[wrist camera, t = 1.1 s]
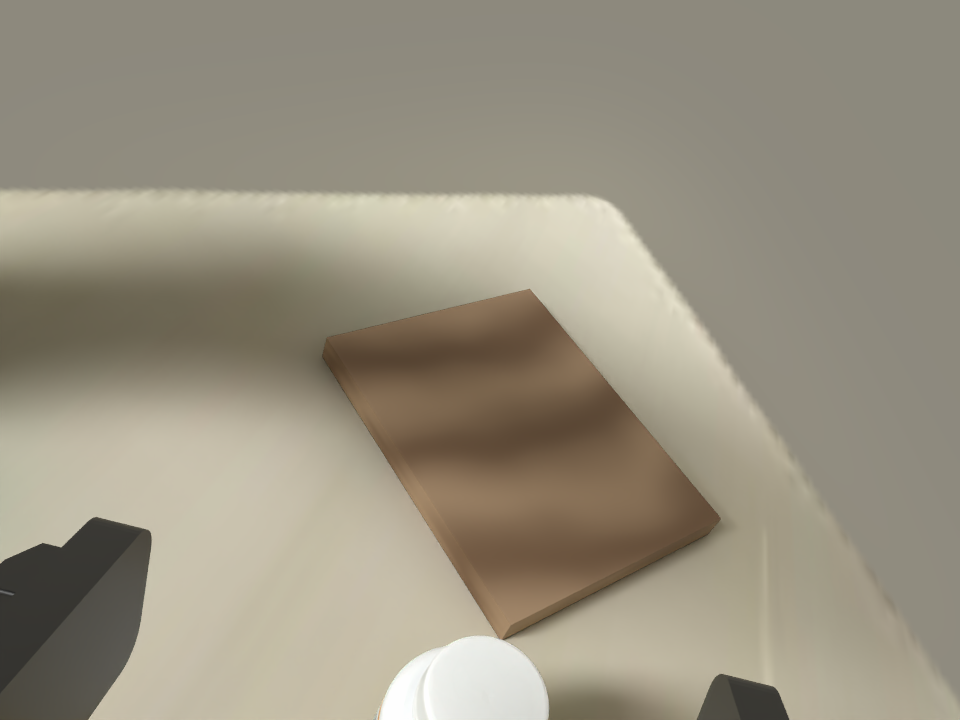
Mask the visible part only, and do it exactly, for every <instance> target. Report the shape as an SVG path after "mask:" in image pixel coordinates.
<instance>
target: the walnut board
mask: <svg viewBox="0 0 960 720" xmlns="http://www.w3.org/2000/svg"><path fill="white" fill-rule="evenodd" d="M322 357H323V358H324V360H325V362H326V363H327V365H328V366H329V368H330V370H331V371H332V373H333V374H334V376H335V378H336V379H337V381H338V382H339V384H340V386H341V387H342V389H343V390H344V392H345V393H346V395H347V397H348V398H349V400H350V401H351V403H352V405H353V406H354V408H355V409H356V411H357V413H358V414H359V416H360V417H361V419H362V421H363V422H364V424H365V425H366V427H367V429H368V430H369V432H370V433H371V435H372V436H373V438H374V440H375V441H376V443H377V444H378V446H379V448H380V449H381V451H382V452H383V454H384V456H385V457H386V459H387V460H388V462H389V464H390V465H391V467H392V468H393V470H394V472H395V473H396V475H397V476H398V478H399V479H400V481H401V483H402V484H403V486H404V487H405V489H406V491H407V492H408V494H409V495H410V497H411V499H412V500H413V502H414V503H415V505H416V507H417V508H418V510H419V511H420V513H421V514H422V516H423V518H424V519H425V521H426V522H427V524H428V526H429V527H430V529H431V530H432V532H433V534H434V535H435V537H436V538H437V540H438V542H439V543H440V545H441V546H442V548H443V550H444V551H445V553H446V554H447V556H448V557H449V559H450V561H451V562H452V564H453V565H454V567H455V569H456V570H457V572H458V573H459V575H460V577H461V578H462V580H463V581H464V583H465V585H466V586H467V588H468V589H469V591H470V593H471V594H472V596H473V597H474V599H475V600H476V602H477V604H478V605H479V607H480V608H481V610H482V612H483V613H484V615H485V616H486V618H487V620H488V621H489V623H490V624H491V626H492V628H493V629H494V631H495V632H496V634H497V636H498V637H499V639H501V640H503V639H505V638H507V637H509V636H511V635H513V634H515V633H517V632H519V631H521V630H523V629H524V628H526V627H528V626H530V625H532V624H534V623H536V622H538V621H540V620H542V619H544V618H546V617H548V616H550V615H552V614H554V613H556V612H558V611H559V610H561V609H563V608H565V607H567V606H569V605H571V604H573V603H575V602H577V601H579V600H581V599H583V598H585V597H587V596H589V595H591V594H593V593H594V592H596V591H598V590H600V589H602V588H604V587H606V586H608V585H610V584H612V583H614V582H616V581H618V580H620V579H622V578H624V577H626V576H627V575H629V574H631V573H633V572H635V571H637V570H639V569H641V568H643V567H645V566H647V565H649V564H651V563H653V562H655V561H657V560H659V559H661V558H662V557H664V556H666V555H668V554H670V553H672V552H674V551H676V550H678V549H680V548H682V547H684V546H686V545H688V544H690V543H692V542H694V541H696V540H697V539H699V538H701V537H703V536H705V535H707V534H708V533H709V532H710V531H711V530H712V529H713V528H714V526H715V525H716V524H717V523H718V522H719V521H720V519H721V518H720V517H719V516H718V514H717V513H716V512H715V511H714V510H713V508H712V507H711V506H710V505H709V504H708V502H707V501H706V500H705V499H704V498H703V496H702V495H701V494H700V493H699V492H698V490H697V489H696V488H695V487H694V486H693V484H692V483H691V482H690V481H689V480H688V478H687V477H686V476H685V475H684V474H683V472H682V471H681V470H680V469H679V468H678V466H677V465H676V464H675V463H674V461H673V460H672V459H671V458H670V457H669V455H668V454H667V453H666V452H665V451H664V449H663V448H662V447H661V446H660V445H659V443H658V442H657V441H656V440H655V439H654V437H653V436H652V435H651V434H650V433H649V431H648V430H647V429H646V428H645V427H644V425H643V424H642V423H641V422H640V421H639V419H638V418H637V417H636V416H635V415H634V413H633V412H632V411H631V410H630V409H629V407H628V406H627V405H626V404H625V403H624V401H623V400H622V399H621V398H620V397H619V395H618V394H617V393H616V392H615V391H614V389H613V388H612V387H611V386H610V385H609V383H608V382H607V381H606V380H605V379H604V377H603V376H602V375H601V374H600V373H599V371H598V370H597V369H596V368H595V367H594V365H593V364H592V363H591V362H590V361H589V359H588V358H587V357H586V356H585V355H584V353H583V352H582V351H581V350H580V349H579V347H578V346H577V345H576V344H575V343H574V341H573V340H572V339H571V338H570V337H569V335H568V334H567V333H566V332H565V331H564V329H563V328H562V327H561V326H560V325H559V323H558V322H557V321H556V320H555V319H554V317H553V316H552V315H551V314H550V312H549V311H548V310H547V309H546V308H545V306H544V305H543V304H542V303H541V302H540V300H539V299H538V298H537V297H536V296H535V294H534V293H533V292H532V291H531V290H530V289H528V290H523V291H519V292H515V293H511V294H507V295H502V296H498V297H494V298H490V299H486V300H482V301H477V302H473V303H469V304H465V305H461V306H456V307H452V308H448V309H444V310H440V311H436V312H431V313H427V314H423V315H419V316H415V317H410V318H406V319H402V320H398V321H394V322H390V323H385V324H381V325H377V326H373V327H369V328H364V329H360V330H356V331H352V332H348V333H344V334H339V335H335V336H331V337H327V338H326V343H325V347H324V351H323V356H322Z"/></svg>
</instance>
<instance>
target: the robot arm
mask: <svg viewBox="0 0 960 720" xmlns="http://www.w3.org/2000/svg"><path fill="white" fill-rule="evenodd" d="M150 551H151V533H150V531H149V530H146V529H142V528H138V527H134V526H130V525H126V524H122V523H118V522H114V521H110V520H106V519H102V518H98V517H95V518H92V519H91V520H89V521H88V522H87V523H86V524H85V525H84V526H83V527H82V528H81V529H80V530H79V531H78V532H77V533H76V534H75V535H74V536H73V537H72V538H71V539H70V540H69V541H68V542H67V543H66V544H65V545H64V546H63V547H62V548H61V547H57V546H53V545H49V544H45V543H42V544H40V545H37V546H35V547H33V548H30V549H28V550H26V551H24V552H21V553H19V554H17V555H15V556H12V557H10V558H8V559H5V560H4V561H3V562H2V563H1V564H0V720H88V719H89V717H90V716H91V714H92V713H93V712H94V710H95V709H96V707H97V706H98V704H99V703H100V702H101V700H102V699H103V697H104V696H105V695H106V693H107V692H108V690H109V689H110V687H111V686H112V685H113V683H114V682H115V680H116V679H117V677H118V676H119V675H120V673H121V672H122V670H123V669H124V667H125V665H126V663H127V661H128V659H129V657H130V655H131V652H132V650H133V647H134V645H135V642H136V639H137V635H138V632H139V627H140V622H141V615H142V608H143V601H144V594H145V587H146V579H147V572H148V565H149V558H150ZM697 720H789V718H788V715H787V713H786V710H785V708H784V705H783V703H782V700H781V697H780V695H779V693H778V691H777V690H776V688H774V687H772V686H768V685H764V684H760V683H756V682H752V681H748V680H744V679H740V678H736V677H732V676H728V675H724V674H719V675H718V676H716V677H715V679H714V680H713V682H712V684H711V686H710V688H709V690H708V693H707V695H706V698H705V701H704V703H703V706H702V708H701V711H700V713H699V716H698V718H697Z"/></svg>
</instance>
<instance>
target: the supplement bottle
mask: <svg viewBox="0 0 960 720" xmlns="http://www.w3.org/2000/svg"><path fill="white" fill-rule="evenodd" d="M548 718H549V699H548V693H547V689H546V686H545V683H544V681H543V679H542V676H541V674H540V672H539V671H538V669H537V668H536V666H535V665H534V663H533V662H532V661H531V660H530V659H529V658H528V657H527V656H526V655H525V654H524V653H523V652H522V651H521V650H519V649H518V648H517V647H515V646H513V645H512V644H510V643H508V642H506V641H504V640H501V639H498V638H495V637H490V636H469V637H464V638H461V639H458V640H456V641H454V642H452V643H450V644H449V645H447V646H442V647H438V648H434V649H432V650H429V651H427V652H425V653H423V654H421V655H419V656H417V657H416V658H414V659H413V660H412V661H410V662H409V663H408V664H407V665H406V666H405V667H404V668H403V669H402V670H401V671H400V672H399V673H398V674H397V676H396V677H395V679H394V680H393V682H392V683H391V685H390V686H389V688H388V690H387V692H386V694H385V696H384V698H383V700H382V702H381V704H380V706H379V709H378V711H377V713H376V715H375V717H374V719H373V720H548Z"/></svg>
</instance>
